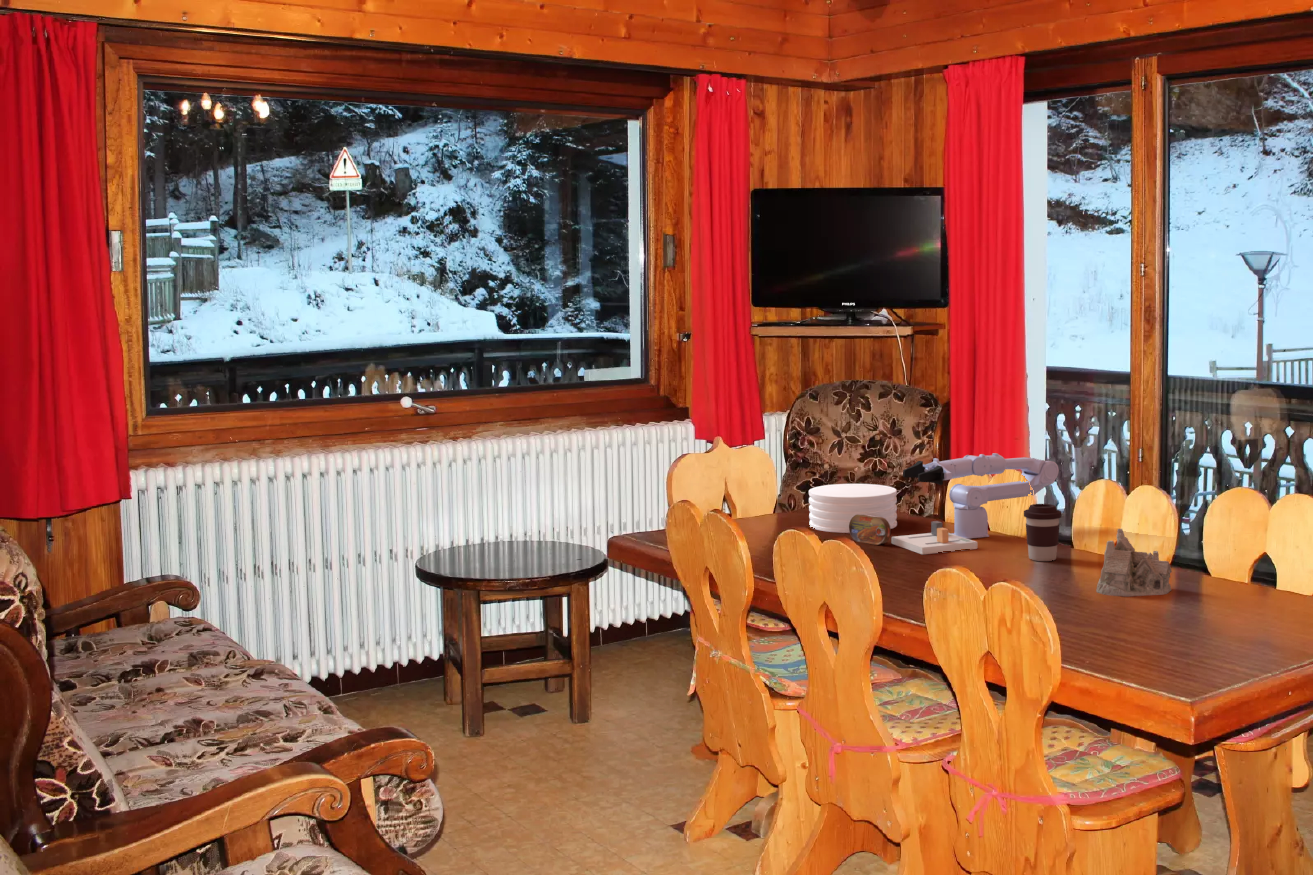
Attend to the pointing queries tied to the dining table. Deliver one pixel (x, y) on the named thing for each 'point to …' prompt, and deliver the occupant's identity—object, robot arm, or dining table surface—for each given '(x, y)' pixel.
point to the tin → (869, 529)
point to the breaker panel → (932, 543)
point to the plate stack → (850, 505)
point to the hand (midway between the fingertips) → (911, 475)
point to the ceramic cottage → (1132, 571)
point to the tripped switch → (942, 535)
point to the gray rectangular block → (935, 527)
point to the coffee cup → (1042, 531)
